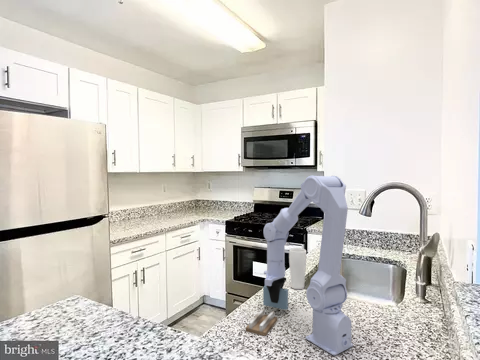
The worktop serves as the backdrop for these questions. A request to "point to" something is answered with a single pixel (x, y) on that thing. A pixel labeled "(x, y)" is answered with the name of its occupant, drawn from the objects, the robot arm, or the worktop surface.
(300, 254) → the drinking glass
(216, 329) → the worktop surface
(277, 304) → the door panel
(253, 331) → the bottom track
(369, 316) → the worktop surface
